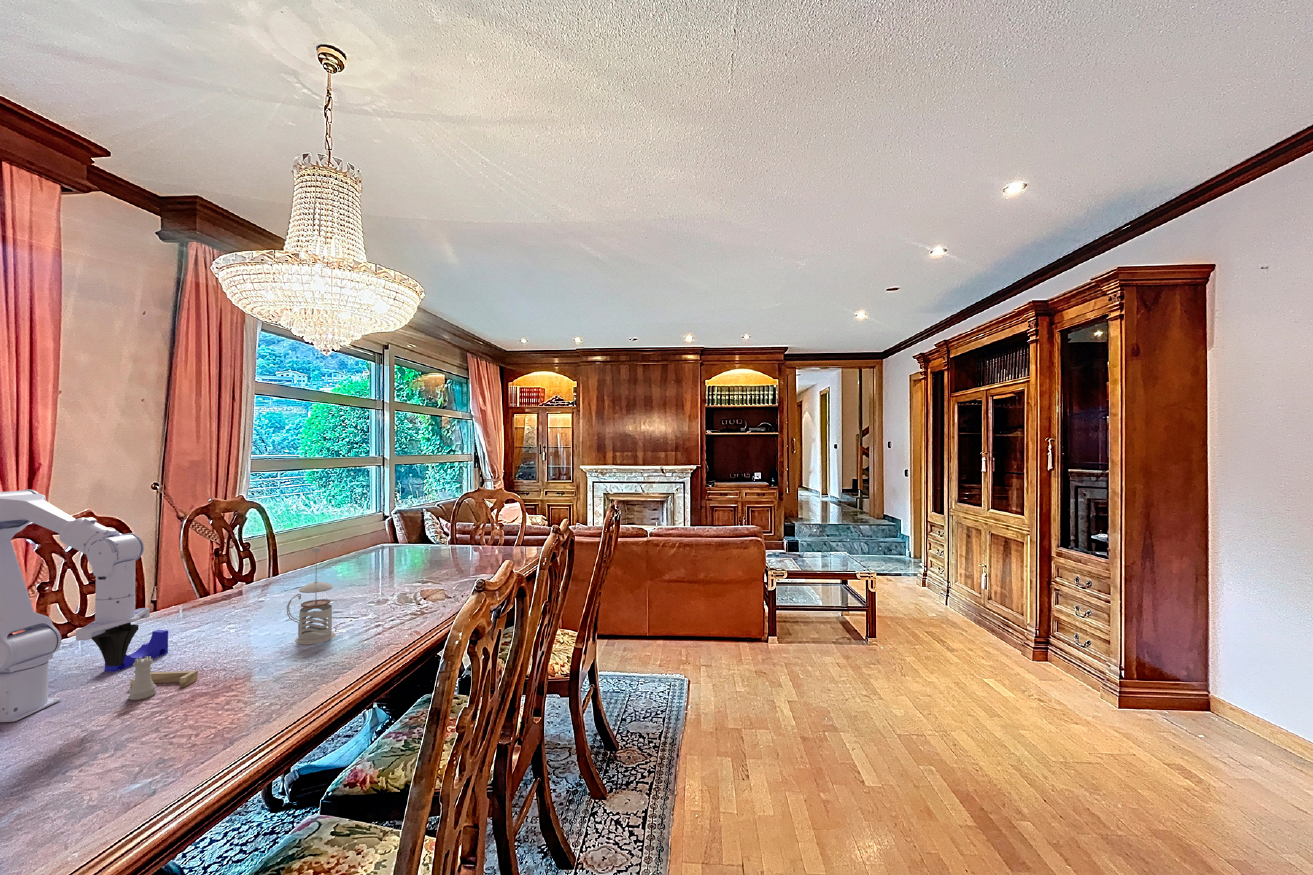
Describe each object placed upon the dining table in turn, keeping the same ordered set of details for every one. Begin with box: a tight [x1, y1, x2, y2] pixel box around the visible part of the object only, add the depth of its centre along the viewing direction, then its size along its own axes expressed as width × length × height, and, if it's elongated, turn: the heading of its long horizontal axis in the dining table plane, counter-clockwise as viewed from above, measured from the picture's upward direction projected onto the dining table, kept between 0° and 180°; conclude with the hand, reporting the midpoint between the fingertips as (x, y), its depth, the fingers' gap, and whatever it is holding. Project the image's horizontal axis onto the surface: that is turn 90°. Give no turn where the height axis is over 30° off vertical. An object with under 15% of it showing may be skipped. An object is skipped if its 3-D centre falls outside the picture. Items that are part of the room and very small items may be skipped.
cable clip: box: [104, 629, 169, 673], centre depth 138 cm, size 12×4×6 cm, turn 170°
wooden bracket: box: [129, 670, 199, 690], centre depth 124 cm, size 4×11×2 cm, turn 95°
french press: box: [286, 546, 337, 645], centre depth 155 cm, size 10×12×25 cm
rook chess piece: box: [128, 656, 157, 701], centre depth 118 cm, size 4×4×8 cm
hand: (114, 664), depth 112 cm, fingers closed
